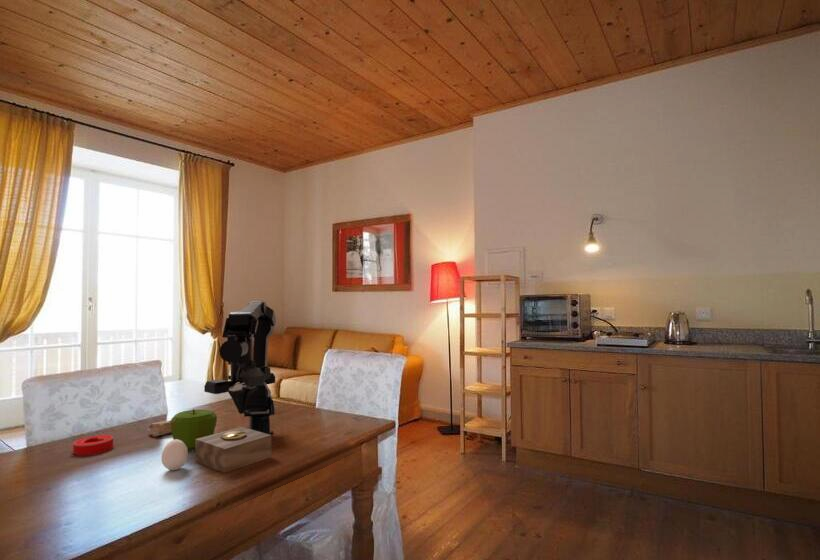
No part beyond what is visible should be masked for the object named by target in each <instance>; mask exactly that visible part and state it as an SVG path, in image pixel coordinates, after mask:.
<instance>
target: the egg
mask: <svg viewBox="0 0 820 560" xmlns="http://www.w3.org/2000/svg"><path fill="white" fill-rule="evenodd" d="M188 452H189V451H188V450H187V447H186V445H185V444H184V443H183V442H182V441H181V440H178V439H175V440H173V439H172V440H170V441H168V442H167V443H166V445H165V446H164V448H163V449H162V452H161V458H160V459H161V464H162V465H163V466H164V467H165V469H167V470H169V471H176V470H179V469H180V468H182V467H183V466H184V465H185V464H186V462H187V460H188V455H189V453H188Z"/></svg>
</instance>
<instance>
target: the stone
mask: <svg viewBox="0 0 820 560" xmlns="http://www.w3.org/2000/svg"><path fill="white" fill-rule="evenodd" d="M147 431H148V433H149V434H150V436H152V437H154V438H156V437H159V436H164V435H169V434H172V430H171V419H170V420H165V421H164V420H163V421H158V422H153V423H151V424H149V426H148V429H147Z"/></svg>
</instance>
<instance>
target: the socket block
mask: <svg viewBox="0 0 820 560" xmlns="http://www.w3.org/2000/svg"><path fill="white" fill-rule="evenodd" d="M232 431H244V432H245V436H244V437H243V438H240V439H237V440H234V441H228V440H225V439H222V435H223V434H224V433H227V432H232ZM194 452H195V453H194V454H195V459H194V460H195V463H198V464H200V465H203V466H206V467H208V468H210V469H213V470H216V471H218V472H221V473H223V474H226V473H230V472H231V471H235V470H237V469H240V468H243V467H246V466H250V465H252V464H255V463H259V462H260V461H264V460H266V459H270V458H271V457H272V435H271V434H266V433H262V432H259V431H255V430H251V429H249V428H247V427H244V426H240V427H237V428H231V429H229V430H228V429H227V430H225V431H221V432H218V433H214V434H213V435H209V436H206V437H202V438H198V439H195V451H194Z"/></svg>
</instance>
